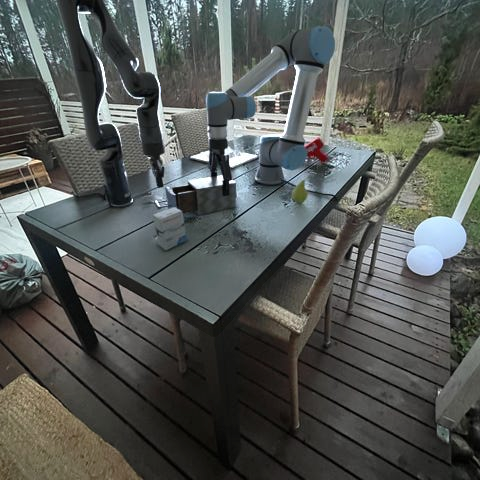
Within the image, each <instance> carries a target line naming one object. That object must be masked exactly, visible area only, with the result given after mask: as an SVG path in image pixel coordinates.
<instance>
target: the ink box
mask: <svg viewBox="0 0 480 480" xmlns="http://www.w3.org/2000/svg"><path fill="white" fill-rule="evenodd" d="M152 219H153V224H154V229H155V234H156V237H157V243H158V246H160V248H162V249H164V250H165V251H168V250H170V249H173V248H174V247H176V246H178V245H181V244H182V243H184V242H187V234H186V227H185V221H184V220H185V219H184V214H183V213H182V211H181V210H179V209H177V208H175V207H174V208H171V209H169V208H167V209H164V210H163V211H160V212H156V213H154V214H152Z"/></svg>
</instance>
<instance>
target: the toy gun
mask: <svg viewBox="0 0 480 480" xmlns="http://www.w3.org/2000/svg"><path fill="white" fill-rule="evenodd" d="M324 145H325V143H324V142H323V140H322V138H321V137H320V136H318V137H316V138H314V139H313V140H311V141H310V142H308V143H306V145H304V147H305V148H306V151H307V158H309V160H313V159H314V158H316V159H317V160H319V161H320V163H321V162H324V163H325V161H326V163H327V162H328V159H329V156H328V155H327V154H326V153H325V152H323V151H322V150H321V149H323V147H324ZM324 163H321V165H323V164H324Z"/></svg>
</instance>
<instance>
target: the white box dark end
mask: <svg viewBox="0 0 480 480" xmlns="http://www.w3.org/2000/svg"><path fill="white" fill-rule="evenodd" d="M222 180H223V177H222V174H221V175H217V176H214V177H211V176H208V177H201V178H195V179H189V180H187V185H188V184H190V185H191V186H192V187H193V188H194V189H195V190H196V195H197V209H198V211H194V212H195V213H196V214H197V215H198V216H200V215H201V216H202V215H205V214H210V213H214V212H219V211H223V210H228V209H233V208H236V207H237V182H236V181H235V180H233V179H232V181H229V194H230V195H229V196H223V185H222Z"/></svg>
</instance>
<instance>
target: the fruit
mask: <svg viewBox="0 0 480 480" xmlns="http://www.w3.org/2000/svg"><path fill="white" fill-rule="evenodd" d="M310 177H311V175H310V174H309V175H308V176H307V177H305V179H302V180H301V181H300V182H298V184H297V185H296V186H297V187H294V188H293V190H292V191H291V198H292V200H293V201H294V202H295V203H297V204H301V203H304V202H305V201H306V200H307V198H308V196H309V195H308V193H309V192H307V190H308V189H307V188H306V184H305V183H306V180H308V179H309V178H310ZM306 189H307V190H306Z"/></svg>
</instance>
